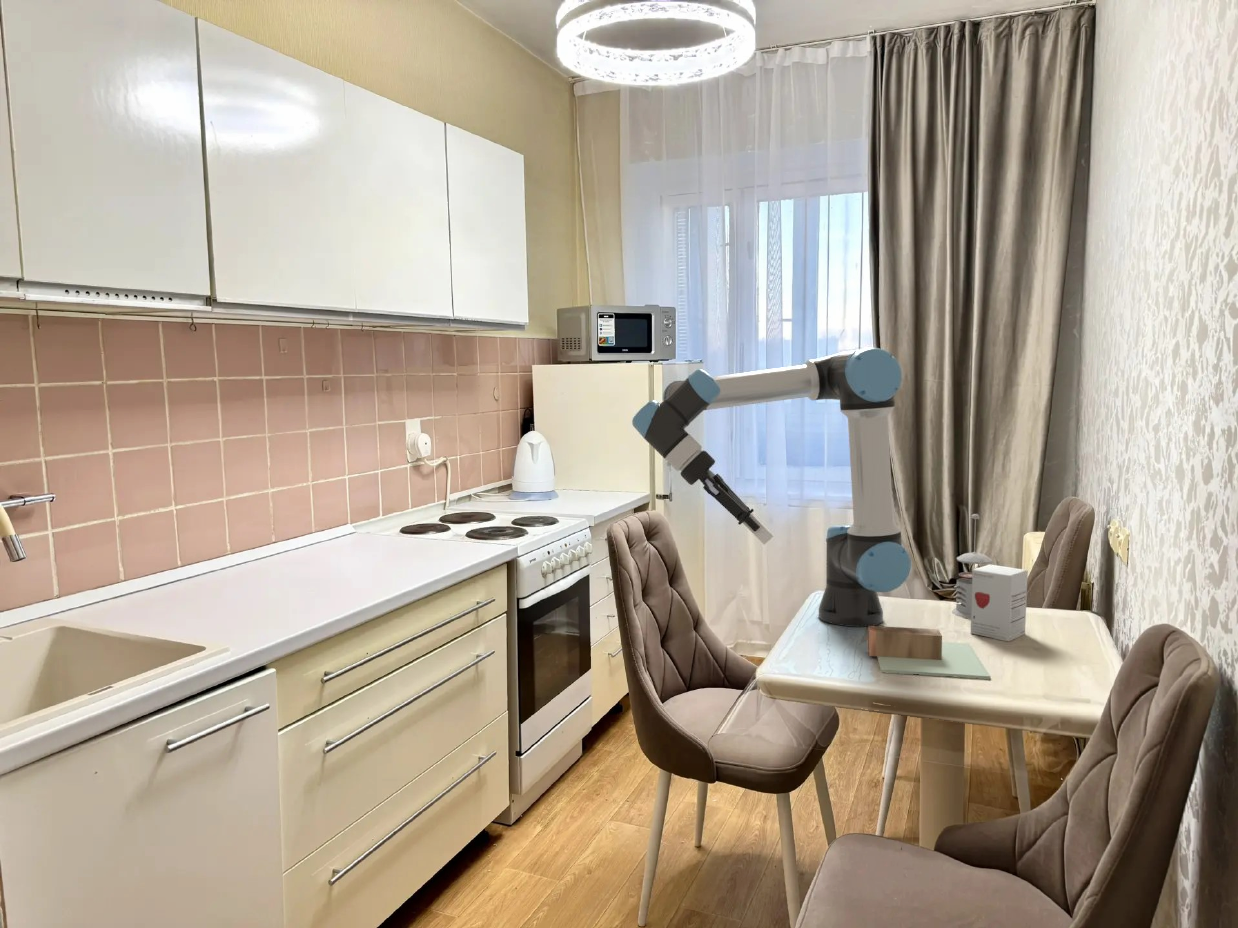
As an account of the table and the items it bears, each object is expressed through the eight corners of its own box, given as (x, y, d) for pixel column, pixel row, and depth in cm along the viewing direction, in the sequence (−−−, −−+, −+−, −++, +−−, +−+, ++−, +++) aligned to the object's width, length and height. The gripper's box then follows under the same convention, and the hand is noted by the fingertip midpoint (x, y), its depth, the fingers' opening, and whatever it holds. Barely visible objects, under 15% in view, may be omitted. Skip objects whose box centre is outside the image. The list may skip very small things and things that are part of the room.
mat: (872, 640, 186) (872, 637, 186) (969, 645, 181) (969, 643, 181) (881, 672, 164) (881, 669, 164) (990, 679, 160) (990, 676, 160)
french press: (986, 608, 212) (989, 511, 211) (1003, 621, 201) (1006, 517, 199) (946, 608, 213) (949, 511, 211) (960, 620, 202) (963, 517, 200)
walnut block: (868, 625, 177) (938, 629, 174) (868, 648, 178) (937, 652, 175) (870, 632, 173) (942, 635, 169) (869, 655, 173) (941, 660, 170)
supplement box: (968, 633, 191) (970, 568, 189) (986, 626, 197) (988, 563, 195) (1009, 642, 184) (1011, 575, 183) (1026, 634, 190) (1028, 569, 189)
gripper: (683, 470, 187) (758, 546, 185) (674, 475, 175) (754, 557, 173) (706, 446, 186) (782, 523, 184) (699, 450, 173) (780, 532, 171)
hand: (768, 539), depth 178 cm, fingers closed
